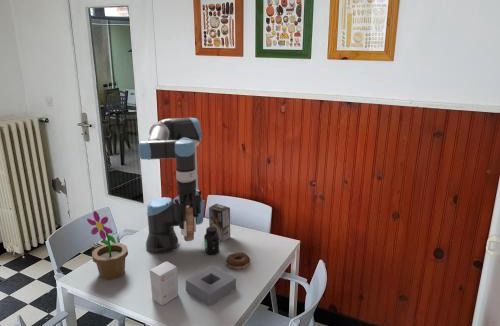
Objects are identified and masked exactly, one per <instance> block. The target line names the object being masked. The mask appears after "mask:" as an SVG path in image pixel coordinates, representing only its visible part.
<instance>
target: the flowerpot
mask: <svg viewBox="0 0 500 326" xmlns="http://www.w3.org/2000/svg"><path fill="white" fill-rule="evenodd" d="M86 221H87V223H88V224H89V225H91V226H94V227H93V228H92V229H91V232H90V233H91V235H96V234H97V233H98V232H99V233H98V234H99V236H100V239H102V240H100V243H101V244H102V245H100V246H98V247H96V248H95V249H94V250H92V252H91V257H92V262H94V263H95V265H96V267H97V270H98V274H99V277H100V278H102V279H103V280H115V279H118V278H120V277H121V276H123V274H125V273H126V258H127V256H128V255H129V250H128V246H127V245H126V244H123V243H121V242H117V240H116V239H115V237H114V236H113V235H111V234H113V230H112V229H111V227H109V226H108V225H106V224H107V223H108V222H109V217H108V216H104V217H102V218H100V215H99V213H98V212H97V210H94V211H93V218H87V219H86ZM109 234H110V235H109Z"/></svg>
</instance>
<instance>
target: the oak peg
mask: <svg viewBox="0 0 500 326" xmlns="http://www.w3.org/2000/svg"><path fill="white" fill-rule="evenodd" d="M185 221H186V228H187V236H183V240H184V241H186V242H190V241H191V242H192V241H193V240H194V239H195V232H194V226H193V207H192V206H186V212H185Z"/></svg>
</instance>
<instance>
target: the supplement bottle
mask: <svg viewBox="0 0 500 326" xmlns="http://www.w3.org/2000/svg"><path fill="white" fill-rule="evenodd" d="M203 242H204V243H203V244H204V254H205V255H207V256H216V255H218V254H219V252H220V240H219V235H218V233H217V228H215V227H209V226H208V227H206V228H205V234H204V236H203Z"/></svg>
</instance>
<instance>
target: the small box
mask: <svg viewBox="0 0 500 326" xmlns="http://www.w3.org/2000/svg"><path fill="white" fill-rule="evenodd" d="M149 276H150V277H149V278H150V286H151V287H150V288H151V296H152V297H151V298H152V300H153V301H155V302H156V303H158V304H159V305H161V306H163V305H166V304H167V303H169V302H170V301H172V300H173V299H175V298H177V297H179V282H178V267H177V266H176V265H174V264H172V263H170V262H169V261H164V262H162V263H161V264H158V265H156V266H154V267H153V268H151V269H149ZM163 307H164V306H163Z"/></svg>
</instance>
